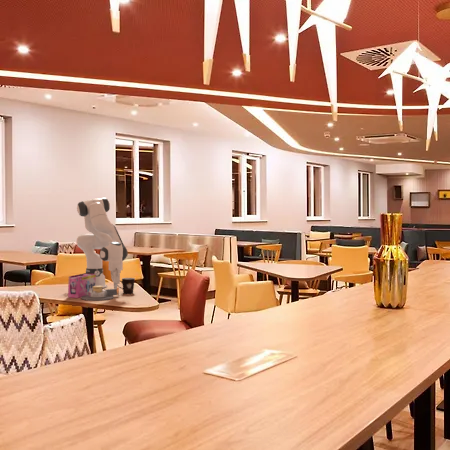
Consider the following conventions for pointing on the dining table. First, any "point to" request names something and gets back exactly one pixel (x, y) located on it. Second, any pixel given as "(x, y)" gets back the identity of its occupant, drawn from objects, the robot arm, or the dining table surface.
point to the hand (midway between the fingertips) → (115, 289)
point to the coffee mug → (127, 285)
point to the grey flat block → (103, 293)
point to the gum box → (81, 284)
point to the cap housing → (98, 289)
